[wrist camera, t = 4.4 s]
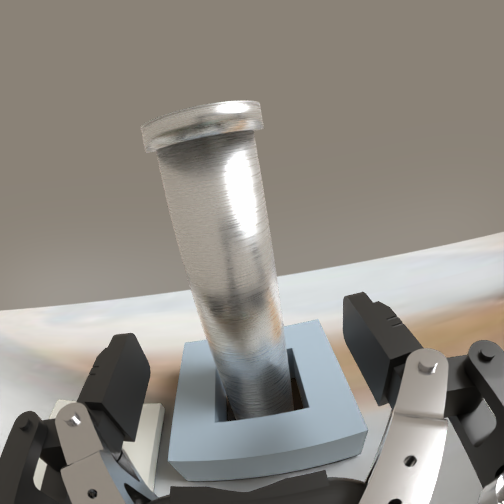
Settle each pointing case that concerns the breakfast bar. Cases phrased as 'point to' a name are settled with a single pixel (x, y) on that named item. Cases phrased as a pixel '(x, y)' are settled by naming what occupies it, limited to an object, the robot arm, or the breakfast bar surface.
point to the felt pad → (129, 443)
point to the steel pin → (226, 246)
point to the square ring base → (268, 427)
